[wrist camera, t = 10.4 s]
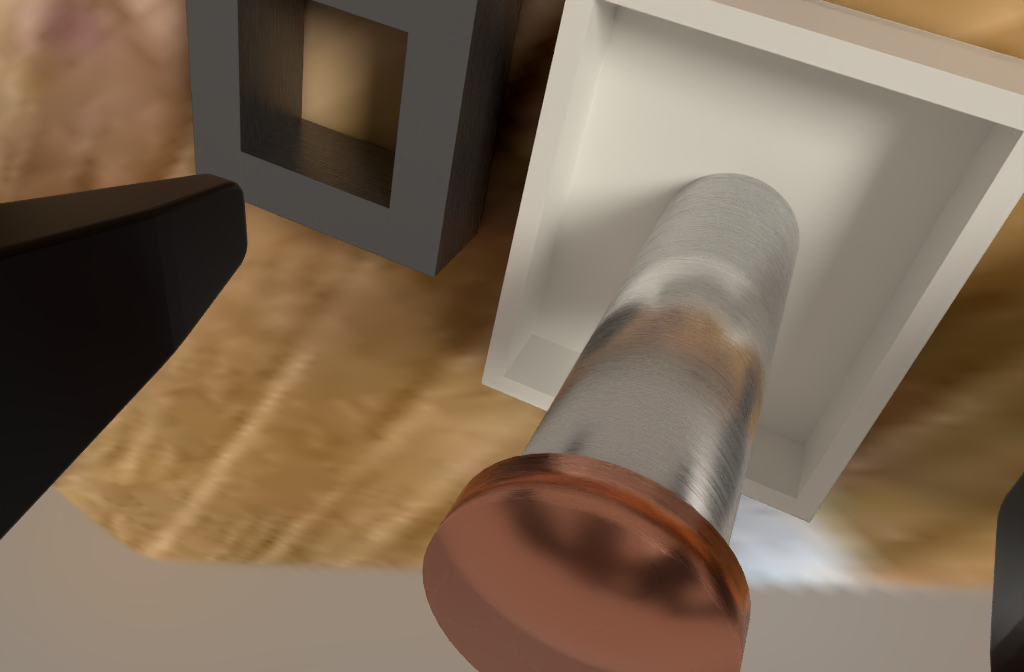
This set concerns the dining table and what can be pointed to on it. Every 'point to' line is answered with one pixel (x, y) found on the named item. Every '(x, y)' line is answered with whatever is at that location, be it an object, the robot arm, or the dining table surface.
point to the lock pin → (633, 464)
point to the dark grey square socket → (343, 159)
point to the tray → (785, 167)
